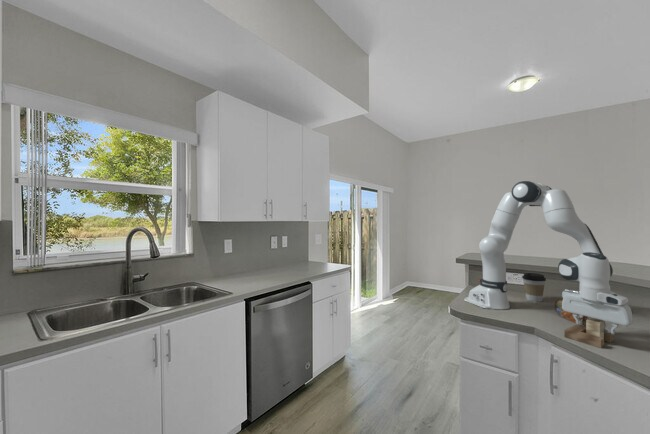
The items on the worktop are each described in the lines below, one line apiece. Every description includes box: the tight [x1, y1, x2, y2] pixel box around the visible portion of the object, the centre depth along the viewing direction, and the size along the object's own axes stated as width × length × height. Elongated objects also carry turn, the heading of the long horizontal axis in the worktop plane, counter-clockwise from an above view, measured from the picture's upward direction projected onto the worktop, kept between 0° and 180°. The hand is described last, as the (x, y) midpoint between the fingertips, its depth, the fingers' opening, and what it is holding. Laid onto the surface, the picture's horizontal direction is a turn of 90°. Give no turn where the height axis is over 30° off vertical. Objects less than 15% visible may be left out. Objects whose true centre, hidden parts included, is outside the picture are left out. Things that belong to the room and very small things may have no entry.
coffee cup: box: [521, 272, 547, 303], centre depth 161 cm, size 11×11×15 cm
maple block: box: [585, 317, 604, 338], centre depth 109 cm, size 4×4×8 cm
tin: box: [554, 299, 589, 324], centre depth 131 cm, size 15×3×8 cm, turn 1°
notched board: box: [564, 323, 614, 349], centre depth 111 cm, size 11×12×3 cm
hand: (594, 329), depth 109 cm, fingers open, 8 cm apart
